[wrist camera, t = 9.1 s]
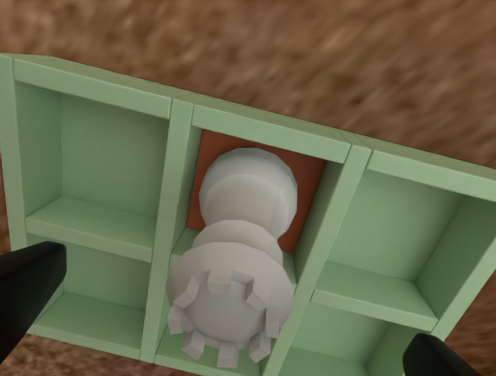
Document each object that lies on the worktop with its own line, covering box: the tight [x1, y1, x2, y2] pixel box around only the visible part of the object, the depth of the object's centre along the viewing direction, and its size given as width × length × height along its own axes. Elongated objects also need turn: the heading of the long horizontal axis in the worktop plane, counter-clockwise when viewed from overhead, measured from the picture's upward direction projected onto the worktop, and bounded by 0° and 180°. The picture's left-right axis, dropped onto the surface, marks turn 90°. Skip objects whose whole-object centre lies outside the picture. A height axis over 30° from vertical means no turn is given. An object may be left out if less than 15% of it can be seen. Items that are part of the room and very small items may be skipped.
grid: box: [0, 53, 496, 376], centre depth 14 cm, size 21×14×3 cm
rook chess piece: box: [165, 148, 297, 368], centre depth 10 cm, size 4×4×8 cm
